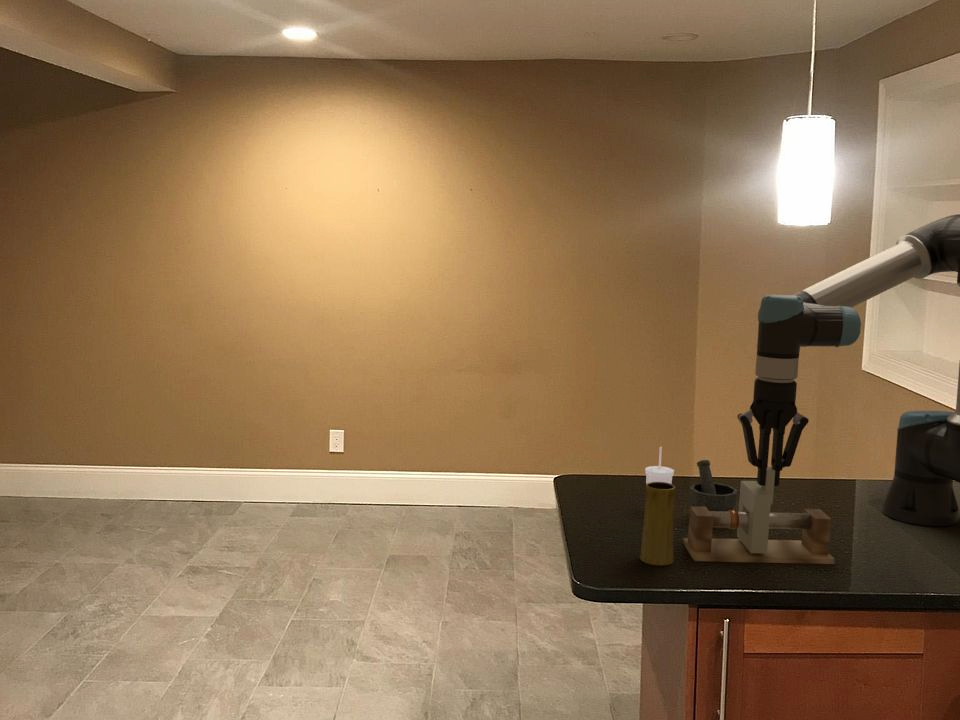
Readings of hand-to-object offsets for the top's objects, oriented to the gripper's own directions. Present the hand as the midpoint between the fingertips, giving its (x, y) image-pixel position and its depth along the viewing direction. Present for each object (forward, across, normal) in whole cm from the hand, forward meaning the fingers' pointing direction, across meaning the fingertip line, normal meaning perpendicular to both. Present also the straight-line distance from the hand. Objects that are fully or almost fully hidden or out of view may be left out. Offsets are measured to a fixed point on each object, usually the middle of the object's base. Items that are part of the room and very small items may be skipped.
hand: (766, 502), depth 185 cm
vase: (+10, +21, +5) cm, 24 cm away
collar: (+8, +2, 0) cm, 9 cm away
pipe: (+5, +1, 0) cm, 5 cm away
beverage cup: (+10, +15, -26) cm, 32 cm away
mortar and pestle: (+10, +5, -20) cm, 23 cm away
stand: (+10, +1, 0) cm, 10 cm away
